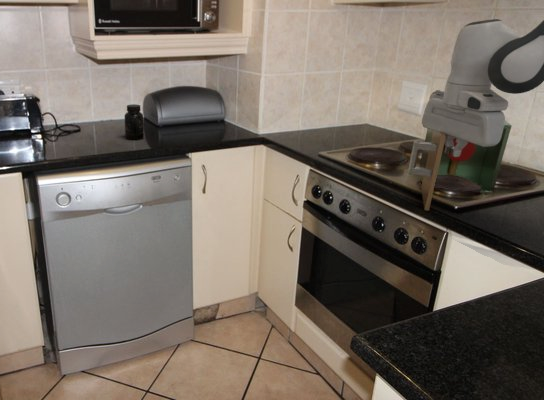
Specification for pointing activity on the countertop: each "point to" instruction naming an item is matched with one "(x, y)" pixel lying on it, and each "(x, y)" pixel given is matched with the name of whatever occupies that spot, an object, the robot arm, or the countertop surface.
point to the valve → (465, 155)
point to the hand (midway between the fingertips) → (451, 155)
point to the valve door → (427, 164)
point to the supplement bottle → (134, 123)
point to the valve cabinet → (474, 162)
